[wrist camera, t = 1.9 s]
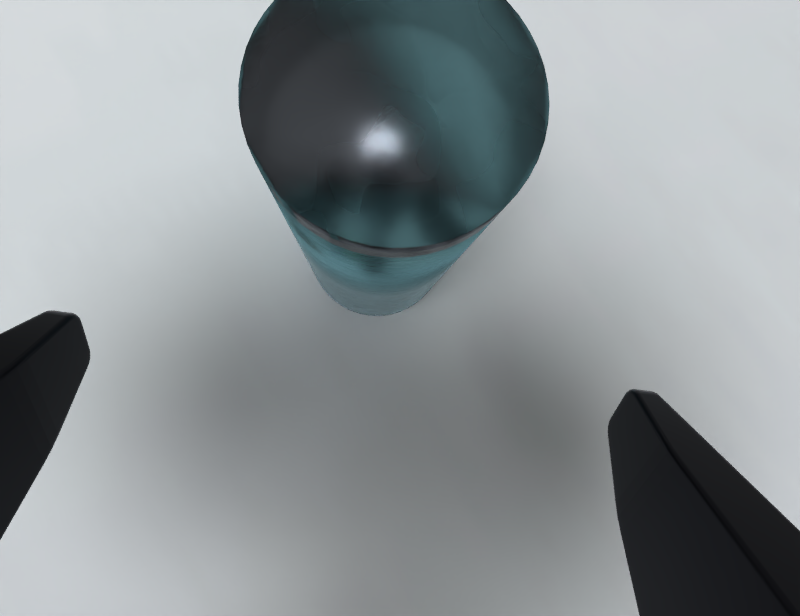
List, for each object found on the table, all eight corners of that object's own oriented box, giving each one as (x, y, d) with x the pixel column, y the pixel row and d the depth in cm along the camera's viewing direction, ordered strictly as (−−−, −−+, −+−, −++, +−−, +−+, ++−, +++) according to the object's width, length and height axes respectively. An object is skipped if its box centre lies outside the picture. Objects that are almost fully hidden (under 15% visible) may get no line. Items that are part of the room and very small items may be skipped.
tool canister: (464, 277, 21) (604, 161, 9) (349, 339, 20) (331, 304, 8) (403, 165, 21) (456, -95, 9) (287, 222, 20) (183, 26, 9)
